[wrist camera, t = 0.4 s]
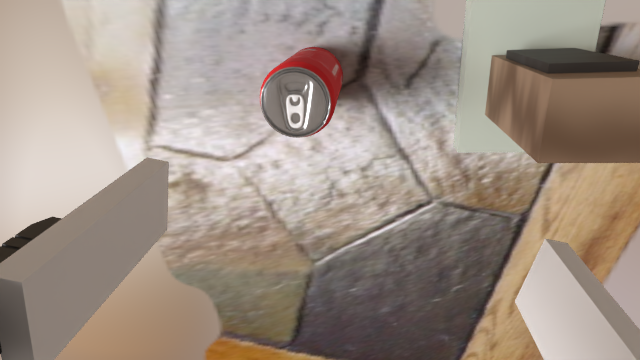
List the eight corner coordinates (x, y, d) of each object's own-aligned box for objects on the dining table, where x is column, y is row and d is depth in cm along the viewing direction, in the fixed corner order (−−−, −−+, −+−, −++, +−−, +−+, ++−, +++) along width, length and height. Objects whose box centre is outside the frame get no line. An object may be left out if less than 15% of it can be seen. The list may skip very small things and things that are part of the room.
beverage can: (343, 45, 37) (334, 63, 26) (342, 103, 39) (334, 142, 28) (286, 45, 37) (254, 62, 26) (288, 102, 39) (259, 140, 28)
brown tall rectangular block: (492, 47, 34) (554, 68, 23) (570, 45, 33) (672, 65, 22) (484, 114, 36) (537, 163, 25) (557, 113, 35) (644, 162, 24)
